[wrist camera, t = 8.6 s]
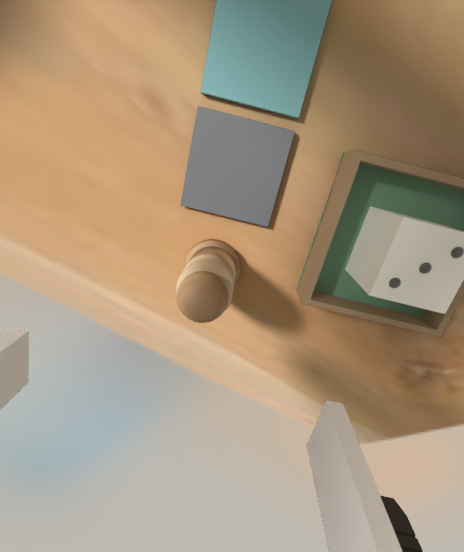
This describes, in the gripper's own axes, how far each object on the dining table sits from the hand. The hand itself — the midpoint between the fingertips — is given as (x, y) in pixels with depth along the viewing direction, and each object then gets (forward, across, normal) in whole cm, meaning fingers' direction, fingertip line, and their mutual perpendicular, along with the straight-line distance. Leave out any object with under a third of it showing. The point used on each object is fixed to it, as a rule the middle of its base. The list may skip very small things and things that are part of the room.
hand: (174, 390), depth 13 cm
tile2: (+17, 0, +18) cm, 25 cm away
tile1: (+17, 0, +9) cm, 19 cm away
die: (+17, +15, +6) cm, 23 cm away
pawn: (+17, 0, 0) cm, 17 cm away
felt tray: (+17, +15, +6) cm, 24 cm away
